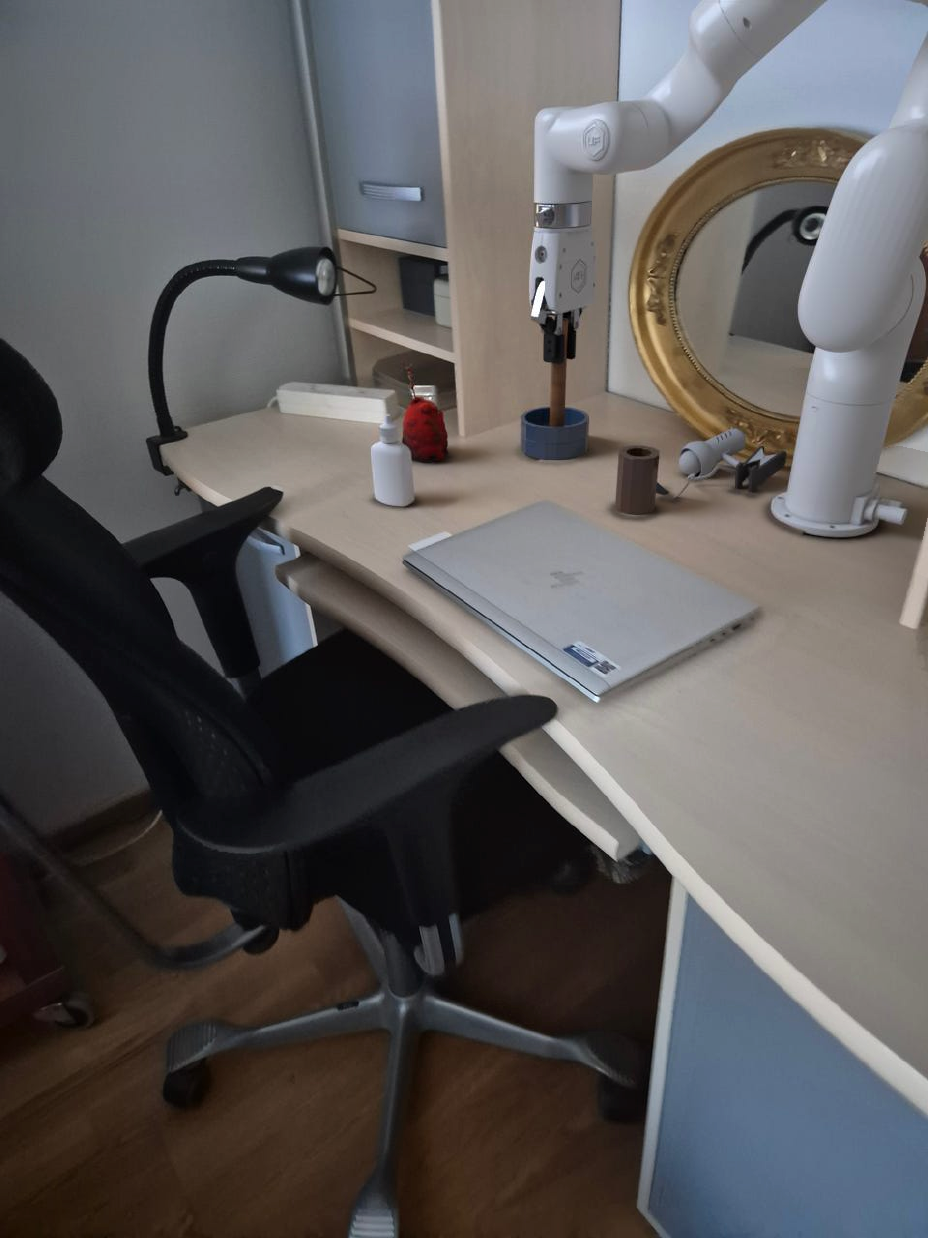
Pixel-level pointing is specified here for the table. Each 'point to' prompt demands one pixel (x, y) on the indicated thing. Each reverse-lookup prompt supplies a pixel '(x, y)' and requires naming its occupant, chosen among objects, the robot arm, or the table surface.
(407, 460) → the eye dropper bottle
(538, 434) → the bowl
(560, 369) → the stick
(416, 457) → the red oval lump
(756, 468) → the clip-on lamp
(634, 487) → the holder
